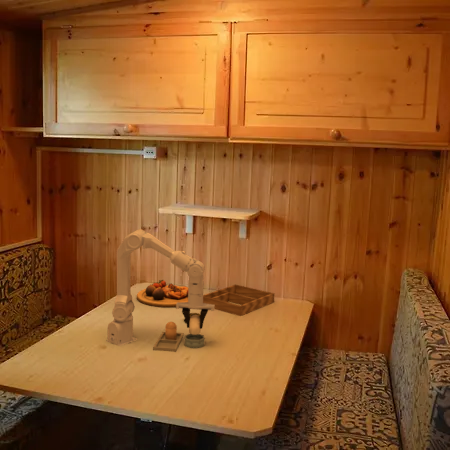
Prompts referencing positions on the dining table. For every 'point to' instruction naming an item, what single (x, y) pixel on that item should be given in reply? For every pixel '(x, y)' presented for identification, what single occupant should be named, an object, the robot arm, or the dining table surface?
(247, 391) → the dining table surface
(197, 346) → the octagonal bowl
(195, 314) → the tape measure
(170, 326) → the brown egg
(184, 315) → the robot arm
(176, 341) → the divided tray
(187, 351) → the dining table surface
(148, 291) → the wooden plate with food
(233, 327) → the dining table surface
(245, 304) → the wooden compartment tray
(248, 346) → the dining table surface
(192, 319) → the tan rounded cylinder
